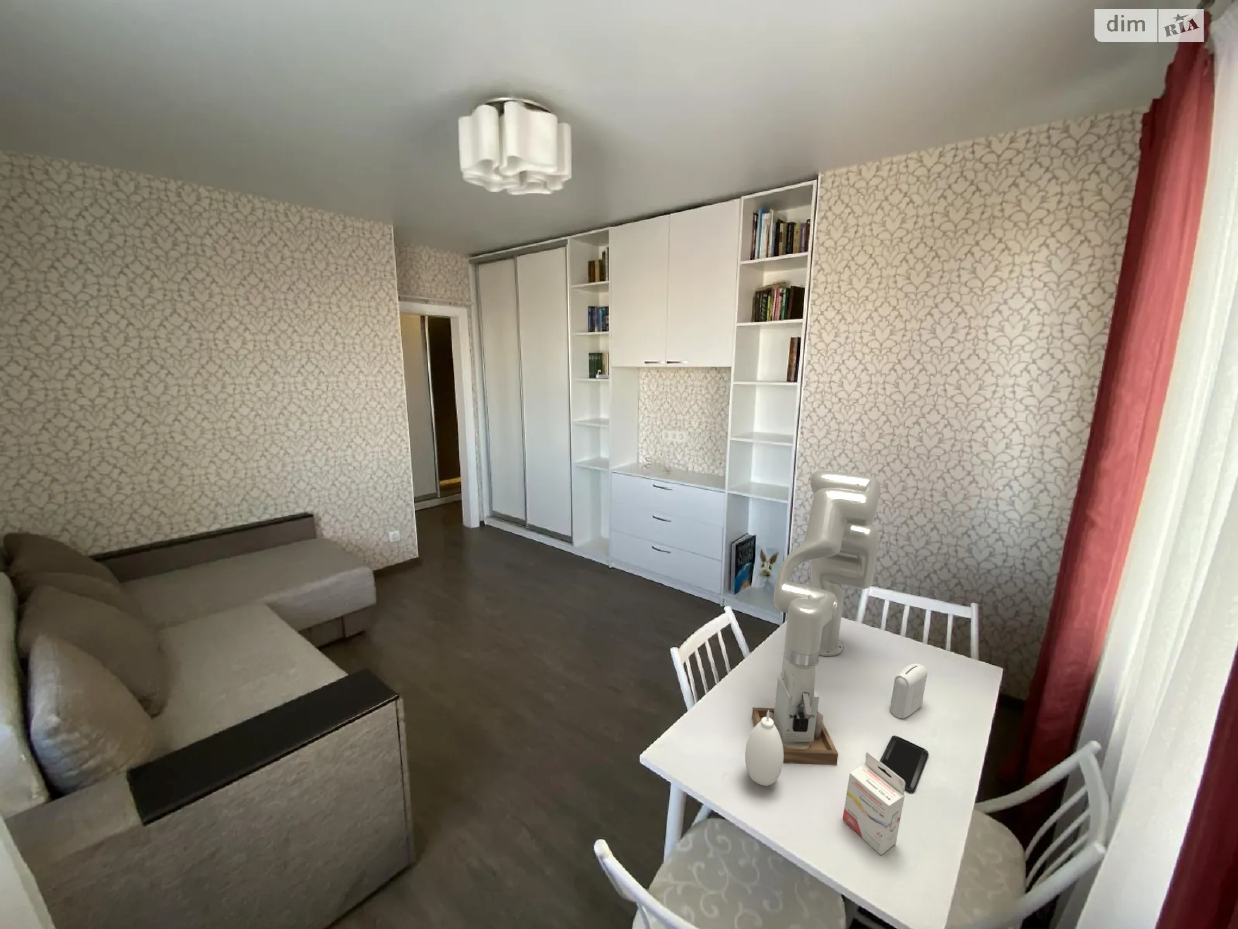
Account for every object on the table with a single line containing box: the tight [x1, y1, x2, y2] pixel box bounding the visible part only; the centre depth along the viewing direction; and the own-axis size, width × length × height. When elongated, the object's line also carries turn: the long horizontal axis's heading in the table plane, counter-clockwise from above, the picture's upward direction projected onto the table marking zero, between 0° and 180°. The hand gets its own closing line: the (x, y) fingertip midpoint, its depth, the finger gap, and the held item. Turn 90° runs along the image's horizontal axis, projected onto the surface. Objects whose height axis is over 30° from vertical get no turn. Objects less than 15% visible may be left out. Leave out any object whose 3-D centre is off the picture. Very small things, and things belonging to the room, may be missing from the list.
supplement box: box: [773, 676, 820, 743], centre depth 119 cm, size 7×7×13 cm
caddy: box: [751, 706, 839, 766], centre depth 120 cm, size 14×16×7 cm
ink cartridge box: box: [842, 751, 906, 856], centre depth 97 cm, size 9×5×15 cm, turn 30°
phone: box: [878, 735, 929, 794], centre depth 114 cm, size 8×1×15 cm
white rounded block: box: [889, 663, 928, 719], centre depth 130 cm, size 10×4×12 cm, turn 123°
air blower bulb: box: [744, 710, 784, 787], centre depth 107 cm, size 8×8×18 cm
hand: (794, 717), depth 120 cm, fingers closed on supplement box, 7 cm apart
